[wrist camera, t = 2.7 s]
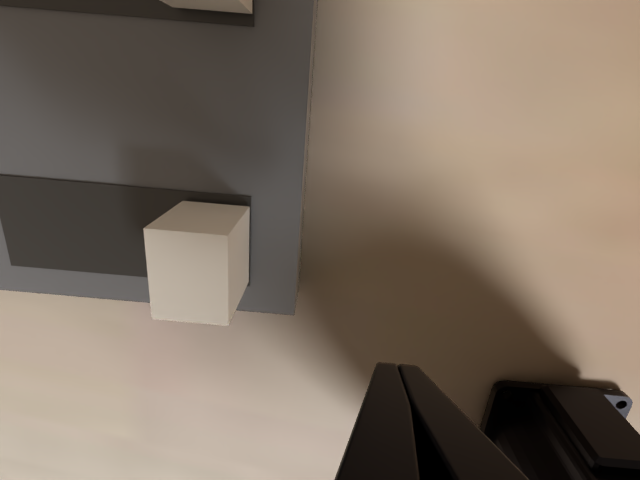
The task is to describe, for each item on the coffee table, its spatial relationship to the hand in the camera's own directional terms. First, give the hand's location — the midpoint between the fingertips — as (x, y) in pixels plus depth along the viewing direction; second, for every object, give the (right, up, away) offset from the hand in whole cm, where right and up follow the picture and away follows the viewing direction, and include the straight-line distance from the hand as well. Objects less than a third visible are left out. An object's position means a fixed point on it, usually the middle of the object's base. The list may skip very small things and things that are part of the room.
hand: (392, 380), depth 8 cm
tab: (-5, +3, +6) cm, 9 cm away
